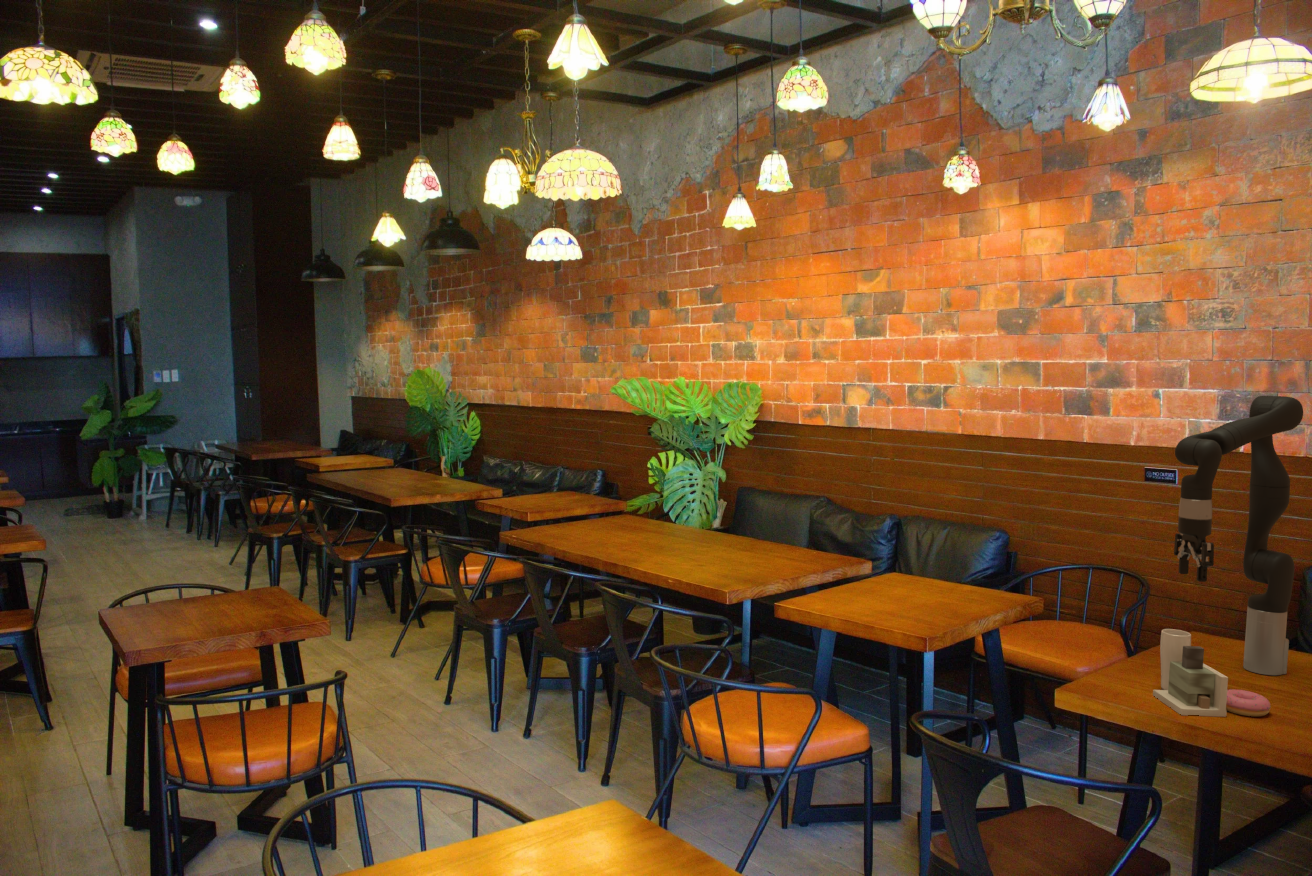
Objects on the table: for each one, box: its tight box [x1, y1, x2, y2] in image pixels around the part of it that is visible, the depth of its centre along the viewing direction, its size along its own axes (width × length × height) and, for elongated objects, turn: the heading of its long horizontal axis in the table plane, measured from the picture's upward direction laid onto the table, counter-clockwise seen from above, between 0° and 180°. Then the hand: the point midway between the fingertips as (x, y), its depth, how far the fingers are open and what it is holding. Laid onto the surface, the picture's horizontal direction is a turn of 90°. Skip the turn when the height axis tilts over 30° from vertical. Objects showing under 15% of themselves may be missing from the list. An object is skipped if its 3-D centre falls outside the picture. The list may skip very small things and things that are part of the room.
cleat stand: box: [1152, 662, 1229, 718], centre depth 233 cm, size 10×14×10 cm
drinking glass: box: [1159, 628, 1192, 690], centre depth 244 cm, size 7×7×15 cm
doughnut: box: [1226, 688, 1272, 718], centre depth 231 cm, size 11×11×4 cm
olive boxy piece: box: [1168, 645, 1215, 707], centre depth 233 cm, size 6×9×13 cm, turn 179°
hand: (1192, 577), depth 249 cm, fingers open, 8 cm apart
